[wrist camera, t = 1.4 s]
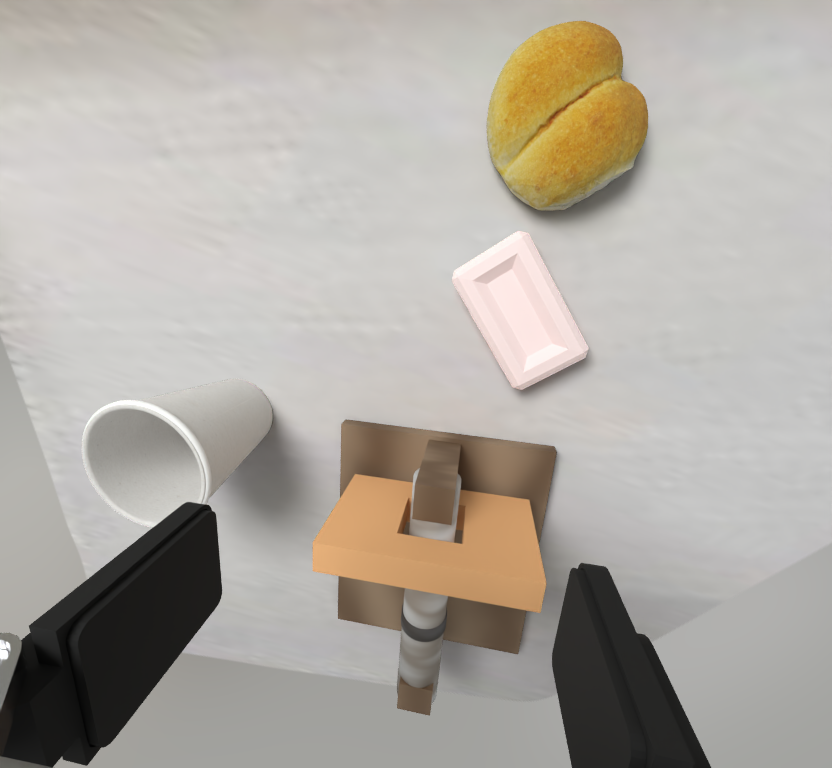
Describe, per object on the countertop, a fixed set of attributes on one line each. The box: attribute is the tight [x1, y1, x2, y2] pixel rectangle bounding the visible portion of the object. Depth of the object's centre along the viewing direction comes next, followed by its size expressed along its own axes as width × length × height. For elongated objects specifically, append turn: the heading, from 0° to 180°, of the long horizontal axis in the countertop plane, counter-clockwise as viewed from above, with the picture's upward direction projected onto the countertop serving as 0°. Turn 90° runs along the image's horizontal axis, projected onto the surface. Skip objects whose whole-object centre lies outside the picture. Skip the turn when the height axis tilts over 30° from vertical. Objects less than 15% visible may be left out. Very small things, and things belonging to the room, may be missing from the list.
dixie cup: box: [82, 379, 273, 528], centre depth 28 cm, size 8×8×10 cm
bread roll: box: [487, 21, 648, 210], centre depth 22 cm, size 8×9×4 cm
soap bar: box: [452, 231, 589, 390], centre depth 26 cm, size 5×9×2 cm, turn 31°
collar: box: [313, 474, 546, 613], centre depth 26 cm, size 13×2×8 cm, turn 86°
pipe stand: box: [338, 420, 557, 715], centre depth 29 cm, size 16×19×8 cm
